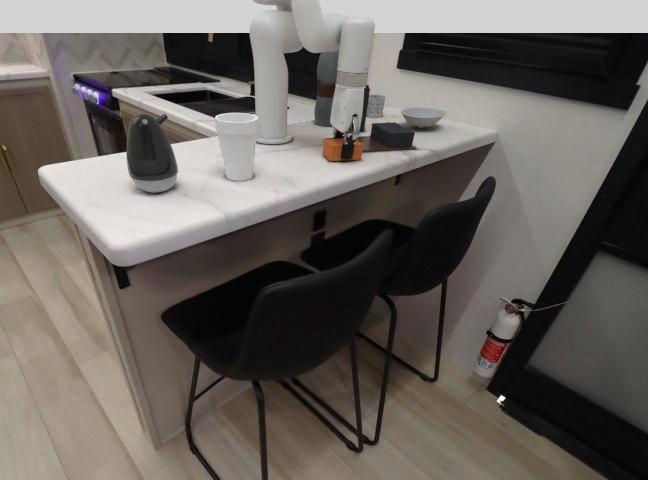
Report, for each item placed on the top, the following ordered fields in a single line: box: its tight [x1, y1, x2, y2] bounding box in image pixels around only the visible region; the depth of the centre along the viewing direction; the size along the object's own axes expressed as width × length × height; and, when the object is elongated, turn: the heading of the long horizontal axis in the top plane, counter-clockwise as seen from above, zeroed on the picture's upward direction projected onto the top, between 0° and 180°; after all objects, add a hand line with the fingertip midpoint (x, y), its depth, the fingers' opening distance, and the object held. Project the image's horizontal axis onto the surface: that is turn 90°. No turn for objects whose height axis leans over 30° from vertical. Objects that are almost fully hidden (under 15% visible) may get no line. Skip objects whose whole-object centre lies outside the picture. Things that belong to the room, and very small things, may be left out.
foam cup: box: [214, 112, 258, 182], centre depth 87 cm, size 10×9×13 cm
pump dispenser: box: [125, 112, 179, 194], centre depth 79 cm, size 10×10×15 cm
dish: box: [400, 107, 447, 129], centre depth 131 cm, size 18×14×5 cm
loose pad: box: [322, 138, 363, 162], centre depth 102 cm, size 9×6×4 cm, turn 105°
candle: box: [348, 68, 371, 133], centre depth 121 cm, size 5×5×25 cm
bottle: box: [313, 51, 339, 128], centre depth 125 cm, size 9×9×30 cm
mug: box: [366, 94, 386, 119], centre depth 144 cm, size 10×7×7 cm
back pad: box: [369, 122, 416, 148], centre depth 115 cm, size 8×12×4 cm, turn 15°
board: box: [324, 135, 417, 153], centre depth 115 cm, size 24×14×1 cm, turn 105°
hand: (341, 154), depth 103 cm, fingers closed on loose pad, 6 cm apart
